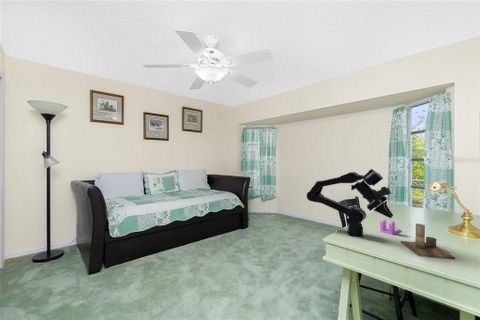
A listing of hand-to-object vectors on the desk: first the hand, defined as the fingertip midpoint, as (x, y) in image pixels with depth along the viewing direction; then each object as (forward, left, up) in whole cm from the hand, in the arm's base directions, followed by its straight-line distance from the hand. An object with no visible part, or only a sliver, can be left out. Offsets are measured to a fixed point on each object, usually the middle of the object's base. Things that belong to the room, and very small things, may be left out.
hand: (391, 216), depth 104 cm
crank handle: (+12, -3, -11) cm, 17 cm away
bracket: (+8, +20, -13) cm, 25 cm away
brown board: (+11, -5, -13) cm, 18 cm away
